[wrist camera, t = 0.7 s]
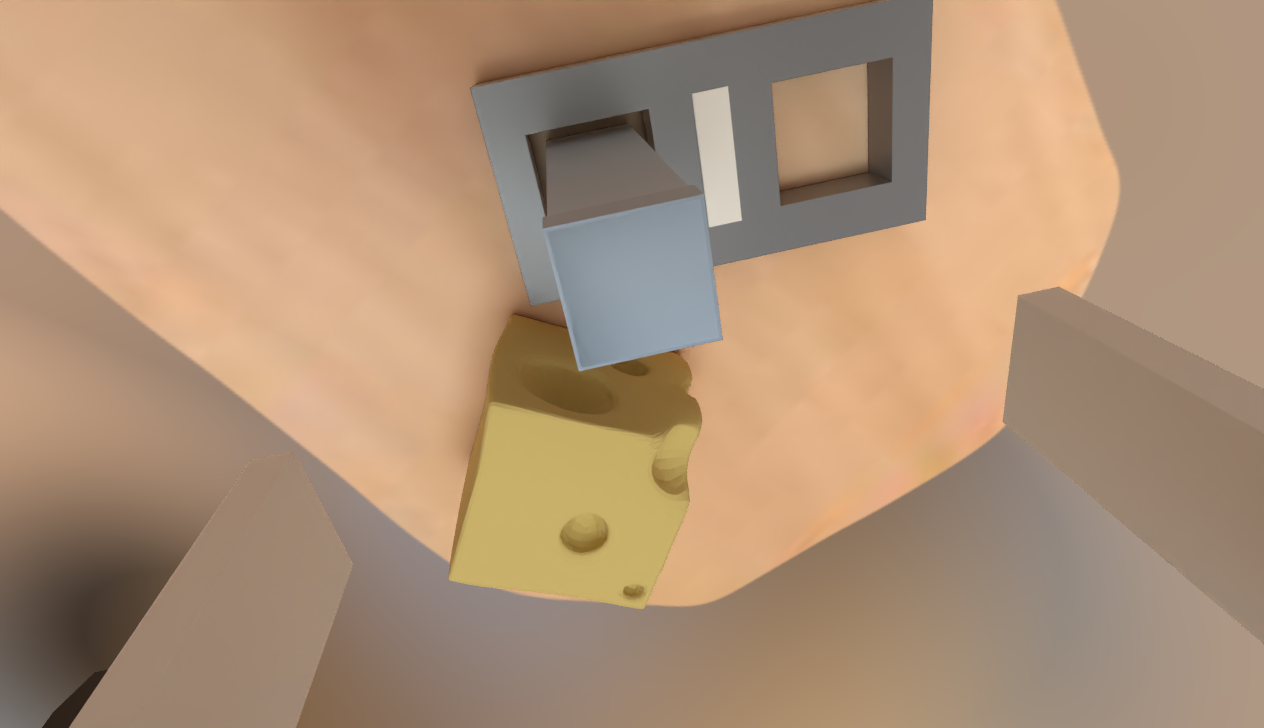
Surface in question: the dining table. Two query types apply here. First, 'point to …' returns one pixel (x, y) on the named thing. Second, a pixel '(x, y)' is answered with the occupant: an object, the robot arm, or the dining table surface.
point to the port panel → (731, 128)
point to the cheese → (575, 471)
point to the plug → (627, 249)
